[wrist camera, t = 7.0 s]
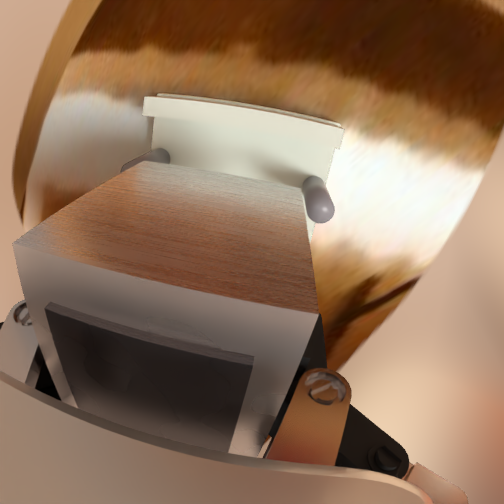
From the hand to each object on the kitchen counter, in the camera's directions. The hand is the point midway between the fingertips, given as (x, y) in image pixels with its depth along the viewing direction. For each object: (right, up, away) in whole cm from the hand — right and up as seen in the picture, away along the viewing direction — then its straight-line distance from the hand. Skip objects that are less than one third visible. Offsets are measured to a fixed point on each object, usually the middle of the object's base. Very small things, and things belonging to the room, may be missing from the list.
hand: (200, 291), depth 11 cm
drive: (0, 0, +1) cm, 1 cm away
